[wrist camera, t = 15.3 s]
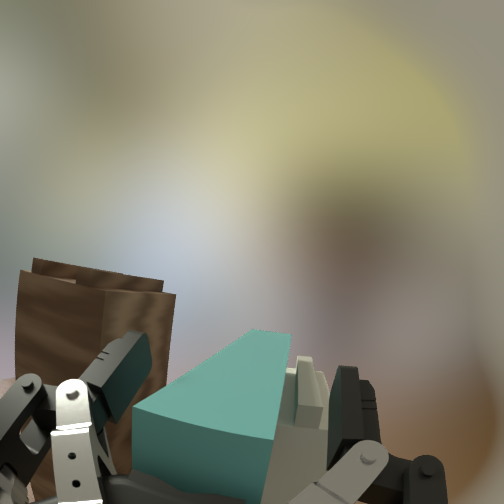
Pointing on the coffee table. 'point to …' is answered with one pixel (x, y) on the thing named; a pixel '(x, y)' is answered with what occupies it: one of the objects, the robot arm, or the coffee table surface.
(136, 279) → the walnut plinth
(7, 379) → the coffee table surface
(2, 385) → the coffee table surface
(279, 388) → the teal bar
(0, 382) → the coffee table surface
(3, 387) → the coffee table surface
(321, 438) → the grey plinth
